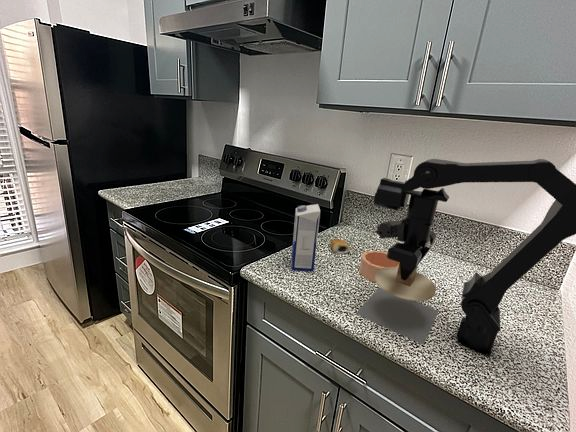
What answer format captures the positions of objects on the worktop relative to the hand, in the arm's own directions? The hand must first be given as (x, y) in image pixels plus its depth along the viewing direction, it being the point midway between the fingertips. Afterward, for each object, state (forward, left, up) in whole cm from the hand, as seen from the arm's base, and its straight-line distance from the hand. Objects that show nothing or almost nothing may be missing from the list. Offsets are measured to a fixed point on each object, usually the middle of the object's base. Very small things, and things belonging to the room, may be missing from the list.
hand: (406, 276), depth 75 cm
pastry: (+29, -24, -11) cm, 40 cm away
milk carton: (+32, -4, -11) cm, 34 cm away
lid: (0, 0, -2) cm, 2 cm away
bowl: (+11, -16, -11) cm, 22 cm away
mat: (0, 0, -11) cm, 11 cm away
